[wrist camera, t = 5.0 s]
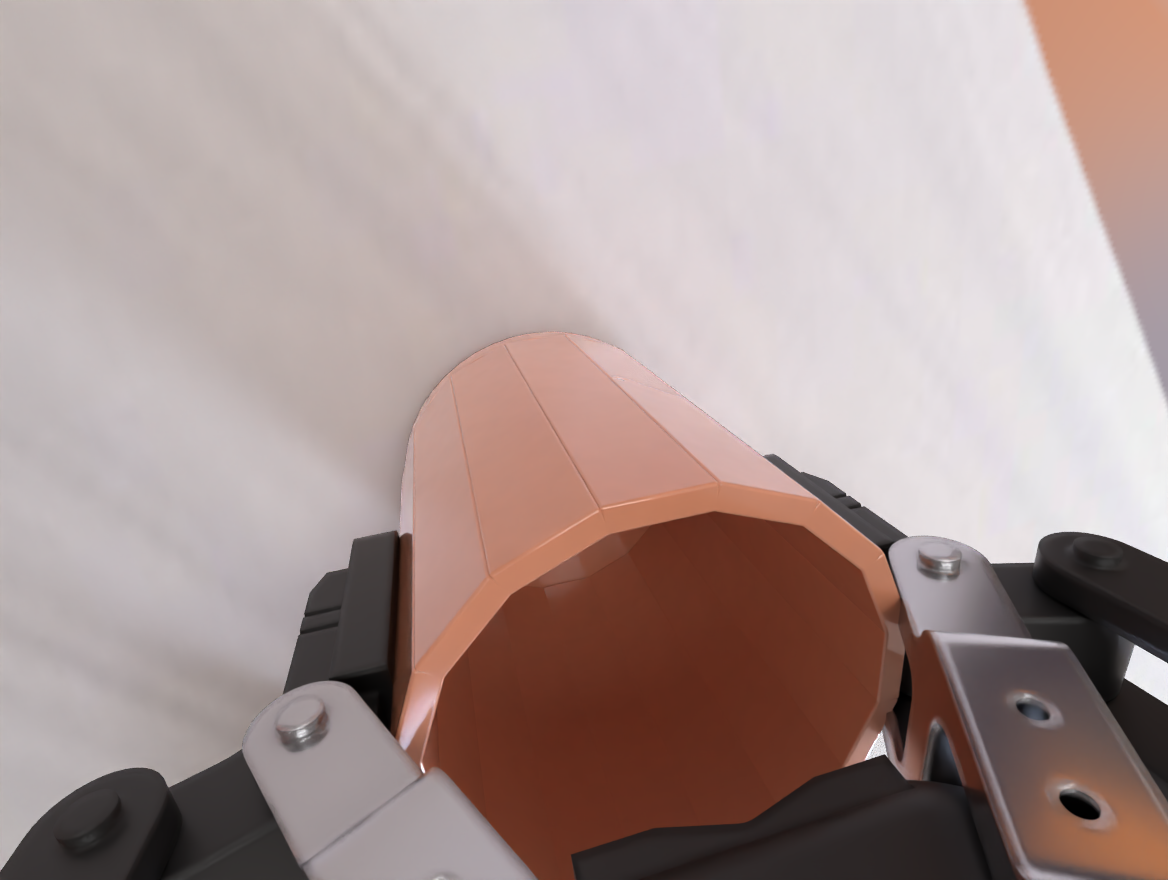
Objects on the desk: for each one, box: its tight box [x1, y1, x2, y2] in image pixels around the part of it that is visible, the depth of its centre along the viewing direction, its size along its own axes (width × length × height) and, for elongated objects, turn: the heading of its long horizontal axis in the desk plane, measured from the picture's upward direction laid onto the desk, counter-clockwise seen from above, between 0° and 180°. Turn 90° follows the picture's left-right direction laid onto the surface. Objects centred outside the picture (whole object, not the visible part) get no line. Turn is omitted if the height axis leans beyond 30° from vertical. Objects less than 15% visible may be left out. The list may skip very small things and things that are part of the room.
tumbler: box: [391, 332, 905, 880], centre depth 11 cm, size 6×6×8 cm
